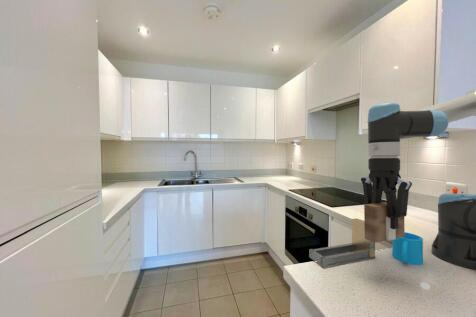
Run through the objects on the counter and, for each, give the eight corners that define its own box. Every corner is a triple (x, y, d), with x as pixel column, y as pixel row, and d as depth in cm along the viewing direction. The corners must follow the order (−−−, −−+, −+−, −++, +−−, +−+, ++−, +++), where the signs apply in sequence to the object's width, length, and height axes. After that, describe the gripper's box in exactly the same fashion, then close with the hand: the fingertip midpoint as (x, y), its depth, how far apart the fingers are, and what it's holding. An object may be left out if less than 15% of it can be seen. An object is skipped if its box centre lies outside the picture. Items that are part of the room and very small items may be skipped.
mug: (394, 250, 75) (394, 229, 75) (423, 258, 69) (423, 235, 69) (388, 262, 67) (388, 238, 67) (421, 272, 61) (421, 246, 61)
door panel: (393, 233, 61) (393, 201, 61) (404, 236, 58) (404, 203, 58) (364, 238, 58) (364, 204, 58) (374, 242, 55) (374, 207, 55)
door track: (356, 248, 77) (357, 218, 77) (375, 258, 70) (375, 224, 69) (309, 257, 70) (309, 223, 70) (324, 268, 63) (324, 231, 63)
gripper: (350, 157, 64) (351, 228, 64) (405, 157, 49) (405, 251, 49) (367, 157, 67) (368, 226, 67) (425, 157, 51) (425, 246, 51)
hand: (384, 236), depth 58 cm, fingers closed on door panel, 3 cm apart
